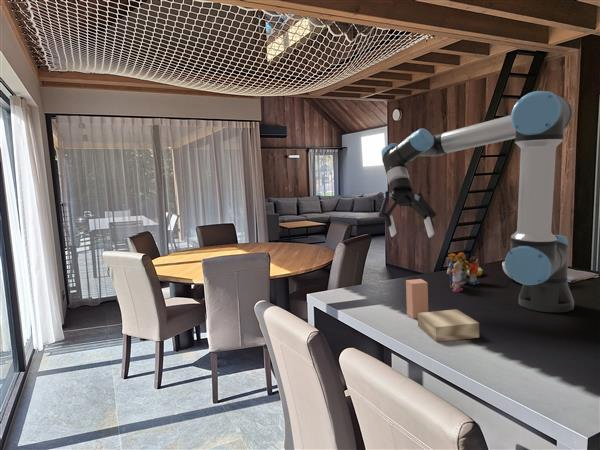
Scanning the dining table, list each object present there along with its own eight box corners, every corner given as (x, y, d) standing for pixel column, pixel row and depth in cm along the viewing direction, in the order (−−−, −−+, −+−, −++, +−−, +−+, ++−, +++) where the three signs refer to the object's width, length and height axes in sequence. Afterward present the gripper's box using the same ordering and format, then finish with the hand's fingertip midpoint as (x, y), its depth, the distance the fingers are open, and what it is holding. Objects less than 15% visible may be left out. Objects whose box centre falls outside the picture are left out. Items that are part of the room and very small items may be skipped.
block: (421, 312, 130) (420, 278, 129) (428, 317, 125) (427, 282, 124) (406, 313, 129) (405, 280, 128) (413, 318, 124) (411, 283, 123)
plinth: (456, 322, 119) (456, 309, 119) (479, 337, 107) (479, 322, 107) (417, 326, 118) (417, 312, 117) (436, 341, 106) (435, 327, 106)
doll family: (456, 293, 148) (456, 258, 146) (433, 289, 155) (432, 256, 153) (482, 281, 162) (481, 249, 160) (459, 278, 169) (458, 247, 167)
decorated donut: (473, 279, 167) (472, 270, 167) (450, 275, 176) (450, 266, 176) (487, 274, 173) (487, 266, 173) (464, 271, 182) (464, 262, 182)
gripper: (426, 190, 149) (441, 241, 138) (362, 187, 143) (373, 239, 133) (436, 178, 142) (452, 230, 132) (370, 174, 137) (381, 228, 126)
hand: (412, 235), depth 132 cm, fingers open, 13 cm apart
